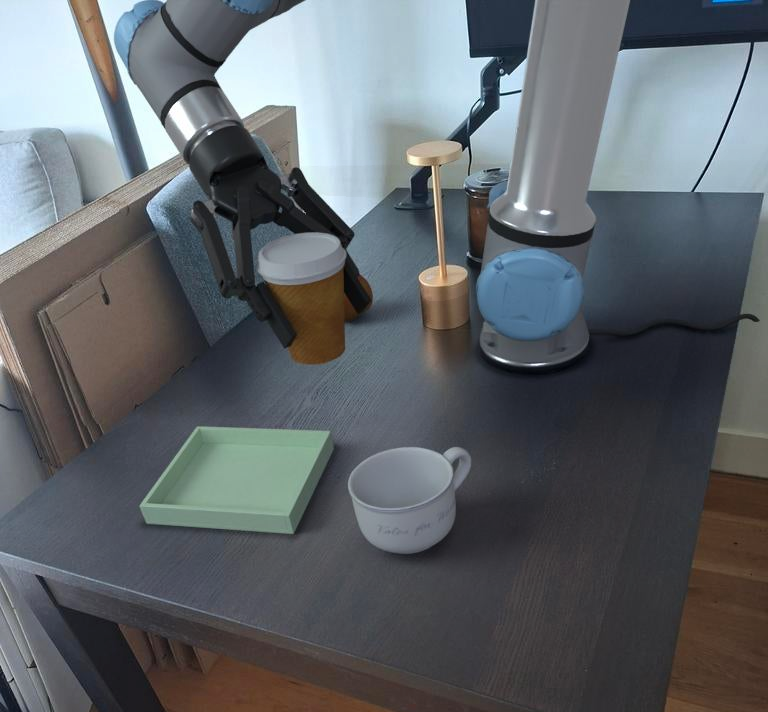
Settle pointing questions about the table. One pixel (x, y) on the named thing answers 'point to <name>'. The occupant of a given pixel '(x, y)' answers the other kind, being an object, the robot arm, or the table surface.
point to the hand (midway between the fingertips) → (328, 324)
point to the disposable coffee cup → (308, 292)
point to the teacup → (407, 496)
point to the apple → (348, 308)
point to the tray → (240, 479)
